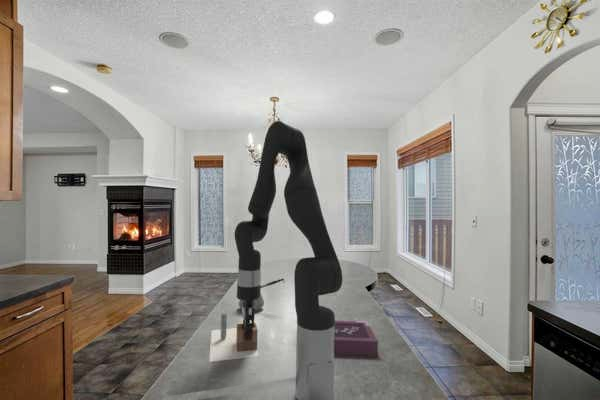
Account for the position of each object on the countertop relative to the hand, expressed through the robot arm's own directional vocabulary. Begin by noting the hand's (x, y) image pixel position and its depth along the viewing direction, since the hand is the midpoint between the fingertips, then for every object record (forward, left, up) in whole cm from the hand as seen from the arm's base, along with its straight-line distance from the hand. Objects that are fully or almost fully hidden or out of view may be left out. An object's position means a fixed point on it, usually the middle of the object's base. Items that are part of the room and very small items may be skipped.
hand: (247, 333), depth 90 cm
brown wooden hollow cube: (-1, 0, -4) cm, 4 cm away
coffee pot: (+35, -10, -5) cm, 37 cm away
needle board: (+3, +4, -5) cm, 8 cm away
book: (-2, -30, -6) cm, 30 cm away
